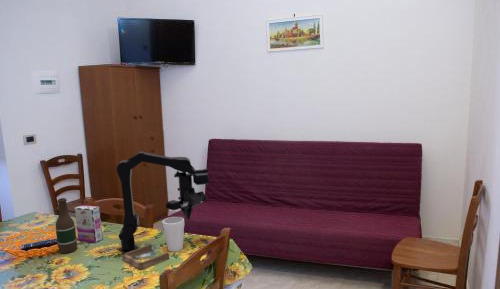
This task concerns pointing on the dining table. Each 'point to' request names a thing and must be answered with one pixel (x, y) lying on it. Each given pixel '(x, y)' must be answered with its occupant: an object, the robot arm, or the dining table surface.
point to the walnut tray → (142, 265)
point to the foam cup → (174, 232)
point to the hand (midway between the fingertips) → (188, 219)
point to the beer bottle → (65, 229)
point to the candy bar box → (88, 223)
